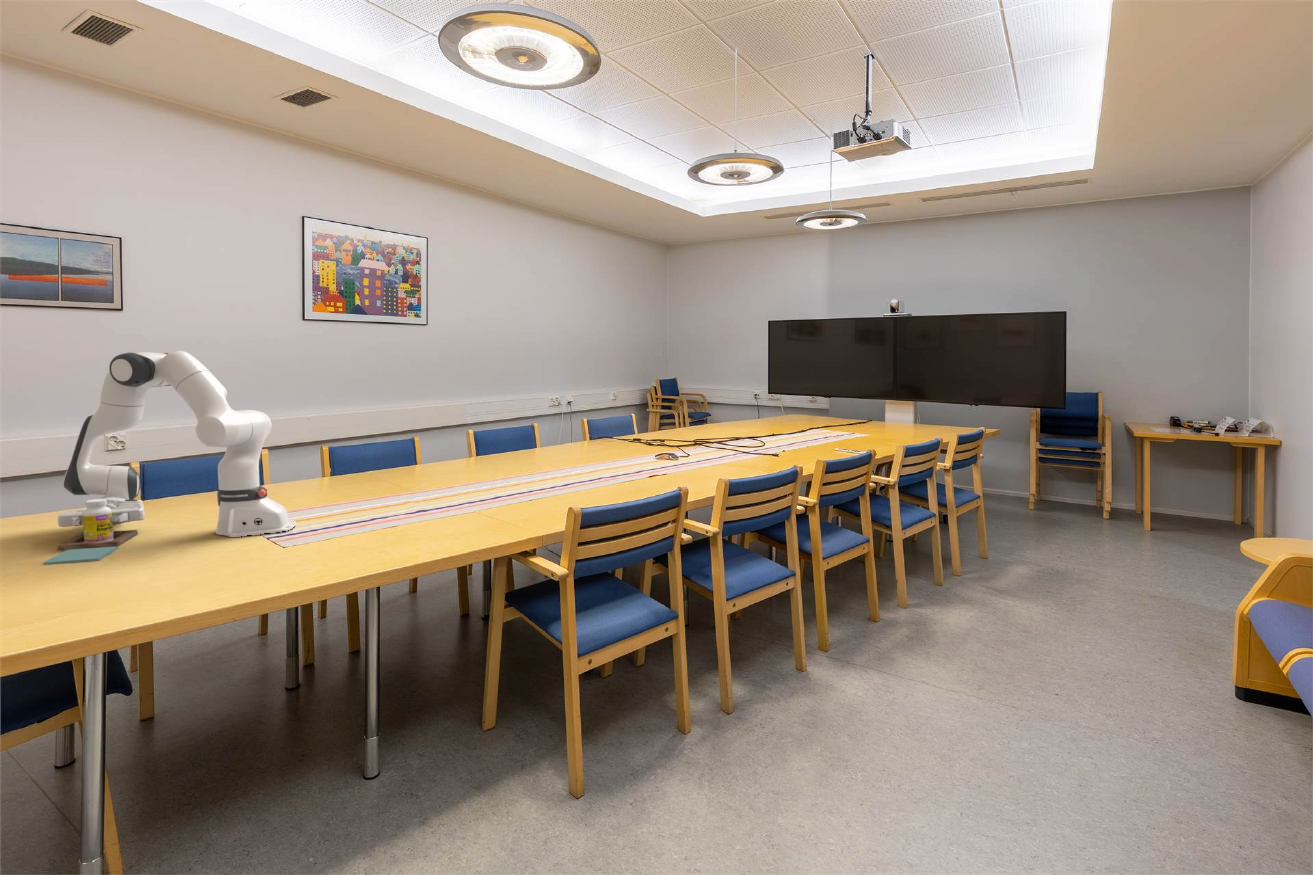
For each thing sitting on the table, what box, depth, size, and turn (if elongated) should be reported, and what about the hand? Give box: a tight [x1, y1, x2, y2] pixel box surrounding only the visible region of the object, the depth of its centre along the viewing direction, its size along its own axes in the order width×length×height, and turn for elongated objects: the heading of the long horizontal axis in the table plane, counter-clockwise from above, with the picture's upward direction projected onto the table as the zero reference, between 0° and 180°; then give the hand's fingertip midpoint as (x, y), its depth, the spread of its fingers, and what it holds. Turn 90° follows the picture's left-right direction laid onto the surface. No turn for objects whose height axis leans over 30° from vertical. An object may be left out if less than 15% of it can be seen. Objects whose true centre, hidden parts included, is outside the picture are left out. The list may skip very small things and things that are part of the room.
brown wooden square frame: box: [56, 529, 139, 552], centre depth 191 cm, size 14×14×2 cm
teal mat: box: [42, 546, 120, 565], centre depth 178 cm, size 12×12×1 cm
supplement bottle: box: [82, 498, 114, 542], centre depth 190 cm, size 7×7×13 cm
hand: (97, 521), depth 189 cm, fingers open, 8 cm apart
